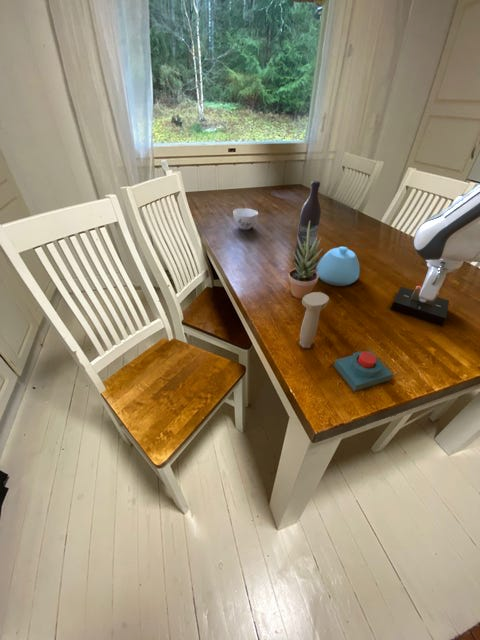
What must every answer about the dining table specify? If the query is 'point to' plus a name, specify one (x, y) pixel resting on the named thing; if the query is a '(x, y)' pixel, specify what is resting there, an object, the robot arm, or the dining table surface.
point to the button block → (362, 372)
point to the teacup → (245, 217)
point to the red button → (366, 360)
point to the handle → (311, 316)
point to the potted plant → (305, 268)
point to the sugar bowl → (339, 267)
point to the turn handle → (416, 297)
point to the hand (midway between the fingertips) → (423, 298)
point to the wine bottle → (309, 219)
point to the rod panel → (420, 307)
